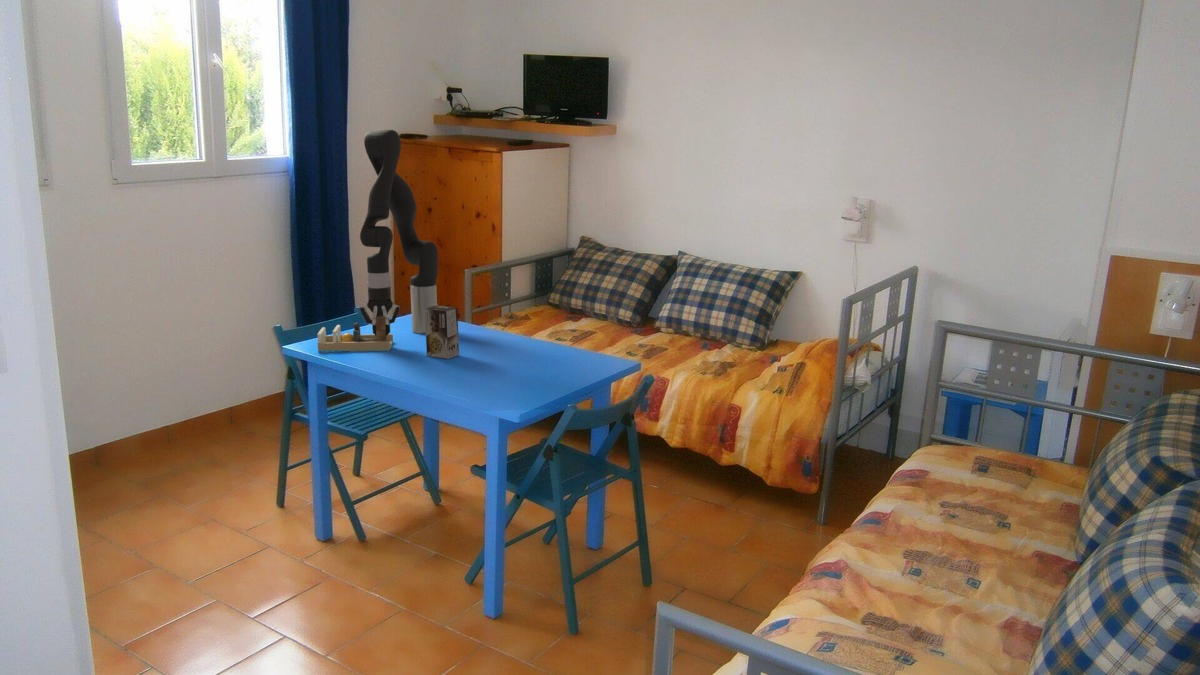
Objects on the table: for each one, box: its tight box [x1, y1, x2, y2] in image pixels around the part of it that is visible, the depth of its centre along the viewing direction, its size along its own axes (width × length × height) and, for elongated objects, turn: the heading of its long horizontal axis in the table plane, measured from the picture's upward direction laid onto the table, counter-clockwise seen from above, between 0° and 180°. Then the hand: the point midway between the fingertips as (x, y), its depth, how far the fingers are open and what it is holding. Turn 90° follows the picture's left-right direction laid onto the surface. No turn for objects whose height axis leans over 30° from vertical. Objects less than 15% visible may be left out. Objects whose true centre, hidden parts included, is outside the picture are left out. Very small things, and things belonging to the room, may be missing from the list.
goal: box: [316, 324, 342, 344], centre depth 317 cm, size 6×10×6 cm, turn 7°
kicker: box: [352, 315, 387, 342], centre depth 318 cm, size 11×6×10 cm, turn 97°
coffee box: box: [425, 304, 460, 360], centre depth 307 cm, size 9×6×16 cm
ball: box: [342, 332, 354, 342], centre depth 318 cm, size 4×4×4 cm
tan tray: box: [317, 333, 394, 352], centre depth 319 cm, size 24×12×3 cm, turn 97°
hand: (381, 334), depth 319 cm, fingers closed on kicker, 3 cm apart
